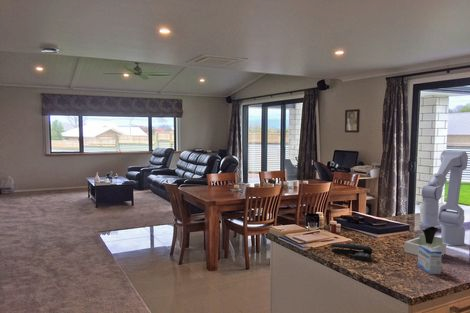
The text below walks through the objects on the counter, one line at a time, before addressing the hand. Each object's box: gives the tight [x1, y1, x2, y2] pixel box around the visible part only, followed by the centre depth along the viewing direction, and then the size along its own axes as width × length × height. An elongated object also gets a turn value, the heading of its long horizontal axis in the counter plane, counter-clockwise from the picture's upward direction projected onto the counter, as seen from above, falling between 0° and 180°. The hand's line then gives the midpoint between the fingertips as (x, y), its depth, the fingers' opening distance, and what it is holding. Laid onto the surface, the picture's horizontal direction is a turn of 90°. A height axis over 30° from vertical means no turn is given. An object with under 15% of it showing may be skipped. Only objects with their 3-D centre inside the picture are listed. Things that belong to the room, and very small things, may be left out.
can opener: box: [330, 242, 373, 262], centre depth 153 cm, size 18×7×6 cm, turn 50°
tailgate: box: [419, 232, 443, 247], centre depth 161 cm, size 2×9×5 cm, turn 37°
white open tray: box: [404, 236, 447, 257], centre depth 158 cm, size 12×12×4 cm
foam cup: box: [418, 202, 440, 228], centre depth 200 cm, size 10×9×13 cm
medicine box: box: [417, 245, 443, 275], centre depth 138 cm, size 8×4×9 cm, turn 5°
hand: (429, 243), depth 160 cm, fingers closed
